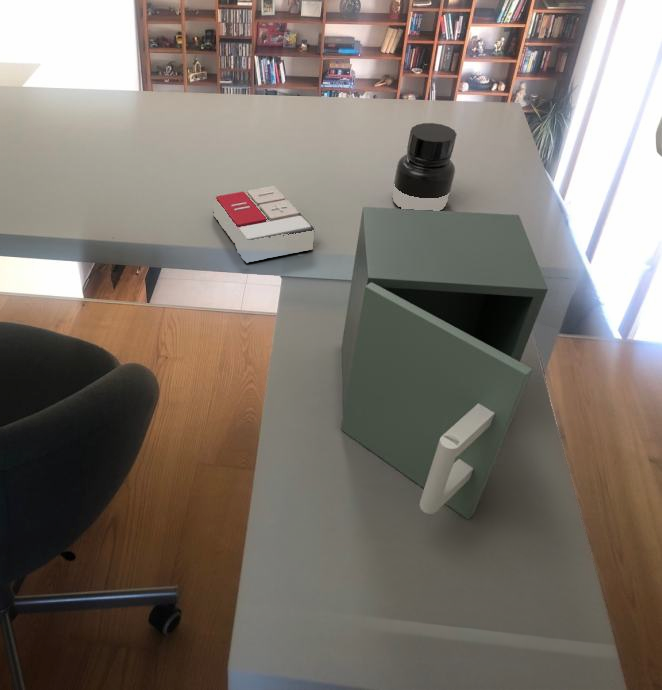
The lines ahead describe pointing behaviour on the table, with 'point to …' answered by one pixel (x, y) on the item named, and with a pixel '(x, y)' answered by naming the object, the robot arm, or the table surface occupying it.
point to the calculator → (271, 205)
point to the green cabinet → (449, 274)
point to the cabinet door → (430, 399)
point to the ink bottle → (427, 162)
